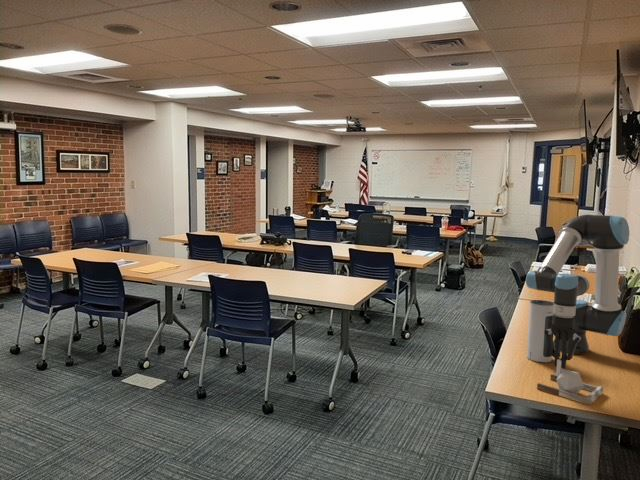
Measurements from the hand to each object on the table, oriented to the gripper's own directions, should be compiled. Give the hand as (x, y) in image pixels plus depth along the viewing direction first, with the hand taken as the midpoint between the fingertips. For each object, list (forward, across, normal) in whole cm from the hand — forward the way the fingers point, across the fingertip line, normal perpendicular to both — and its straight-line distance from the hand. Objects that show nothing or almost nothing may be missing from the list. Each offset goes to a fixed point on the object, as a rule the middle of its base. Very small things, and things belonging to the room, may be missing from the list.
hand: (559, 375), depth 186 cm
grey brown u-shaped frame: (+5, +4, 0) cm, 6 cm away
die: (+5, +4, -1) cm, 7 cm away
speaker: (+5, -18, +26) cm, 33 cm away
